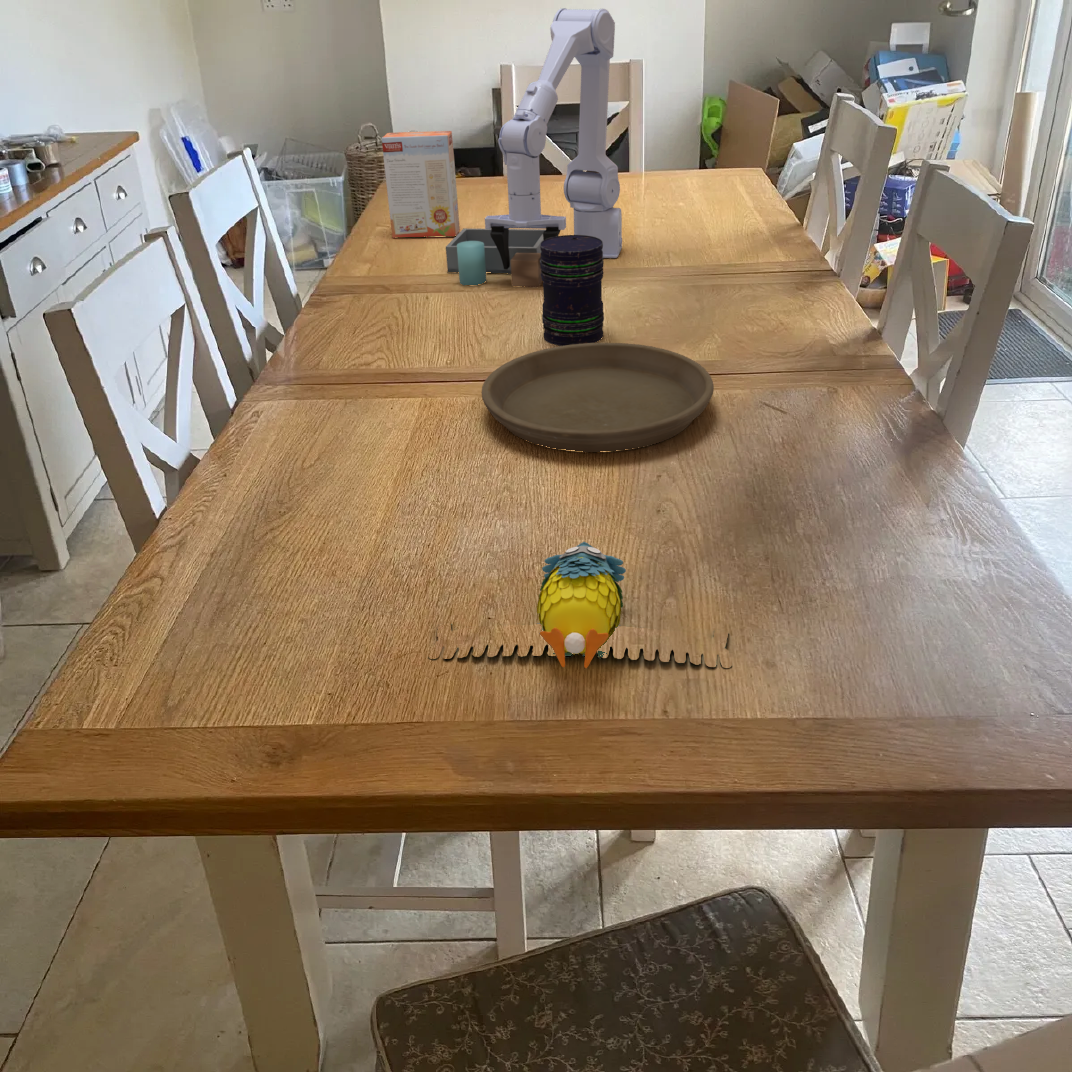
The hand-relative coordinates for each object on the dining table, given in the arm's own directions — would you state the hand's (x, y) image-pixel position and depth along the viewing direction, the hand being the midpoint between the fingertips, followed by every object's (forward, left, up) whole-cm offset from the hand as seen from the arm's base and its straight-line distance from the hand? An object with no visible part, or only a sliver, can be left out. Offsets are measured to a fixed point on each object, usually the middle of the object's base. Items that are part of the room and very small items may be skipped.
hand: (527, 268), depth 194 cm
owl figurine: (-27, +108, -4) cm, 112 cm away
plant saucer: (-21, +56, -3) cm, 60 cm away
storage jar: (-13, +27, -3) cm, 30 cm away
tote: (+8, -12, -3) cm, 15 cm away
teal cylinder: (+10, 0, -3) cm, 11 cm away
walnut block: (0, 0, -3) cm, 3 cm away
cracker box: (+29, -33, -3) cm, 44 cm away
